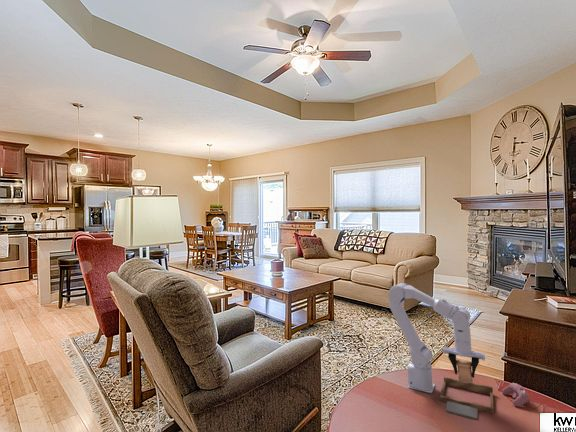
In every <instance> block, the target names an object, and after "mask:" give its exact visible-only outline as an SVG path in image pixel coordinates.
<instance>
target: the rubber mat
mask: <svg viewBox="0 0 576 432" xmlns="http://www.w3.org/2000/svg"><path fill="white" fill-rule="evenodd" d="M444 411H445V413H450V414H453V415H456V416H461V417H465V418H468V419H472V420H476V421H477V420H478V412H479V410H478V408H475V407H471V406H467V405H463V404H459V403H455V402H451V401H447V402H446V406H445V410H444Z"/></svg>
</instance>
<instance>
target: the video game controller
mask: <svg viewBox="0 0 576 432" xmlns="http://www.w3.org/2000/svg"><path fill="white" fill-rule="evenodd" d="M501 393H502V394H503V395H505V396H508V395H511V394H512V395H511V396H512V398H514V400H513V401H512V405H513V406H514V407H519V408H520V407H522V406H523V405H524V404H526V403H528V402H529V400H530V394H529V393H528V392H527V391H526V389H525V388H524V387H523V386H522V385H521V384H518V383H515V382H511V383H510V384H508V385H507V386H505V387H504V388H503V389H502V390H501Z"/></svg>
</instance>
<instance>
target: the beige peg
mask: <svg viewBox="0 0 576 432" xmlns="http://www.w3.org/2000/svg"><path fill="white" fill-rule="evenodd" d="M456 364H457V375H458V380H459V381H461V382H463V383H474V382H473V381H474V380H473V379H474V378H473V377H472V362H471V361H470V360H468V359H464V358H463V359H462V358H461V359H456Z"/></svg>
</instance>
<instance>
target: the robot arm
mask: <svg viewBox="0 0 576 432" xmlns="http://www.w3.org/2000/svg"><path fill="white" fill-rule="evenodd" d="M387 295H388V302H389V303H388V305H389V309H390V311H391V312H392V315H393V317H394V319H395V321H396V323H397V325H398V327H399V328H400V330H401V332H402V334H403V337H404V338H405V340H406V342H407V344H408V352H409V354H410V359H411V363H408V365H407V382H408V384H407V387H408V388H409V389H412V390H417V391H420V392H425V393H428V394H433V392H434V389H435V387H436V384H435V383H433V368H432V367H433V366H432V363H431V361H432V359H433V352H432V350H431V349H429V347H427V345H426V344H425V342H423V341H422V340H421V339H420V337H419V334H418V333H417V331H416V329H415V327H414V325H413V324H412V322H411V320H410V318H409V316H408V314H407V312H406V310H405V309H404V306H403V305H404V303H405V300H409V299H415V300H417V301H419V302H421V303H424V304H425V305H428V306H430V307H432V309H433V311H434V312H436V313H438V314H439V315H441V316H443V317H445V318H447V319H449V320H451V321H452V323H453V337H454V338H453V339H454V347H445V346H444V347H442V354H444V355H446V354H447V355H448V356H447V358H448V359H449V361H450V363H451V365H452V368H453V371H454V374H455V375H458V367H457V364H456V360H457V357H458V356H459V357H463V358H471V361H470V362H471V363H472V367H471V370H472V379H474V378H475V373H476V369H477V367H478V365H479V363H480V360H481V361H486V355H485V353H482V352H480V351H474V350H472V337H471V336H472V335H471V328H470V322H469V321H470V320H471V313H470V312H469V310H468V309H466V308H464V307H459V305H457V304H456V305H454V304H452V303H450V302H448V301H447V299H445V298H442V299H441V298H438V299H436V298H434V297H432V296H430V295H428V294H427V293H424V292H423V291H421V290H419V289H417V288H416V287H414V286H412V285H410V284H408V283H406V282H399V283H397V284H395V285H392V286H391V287H390V289H389V291H388V293H387Z"/></svg>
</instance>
